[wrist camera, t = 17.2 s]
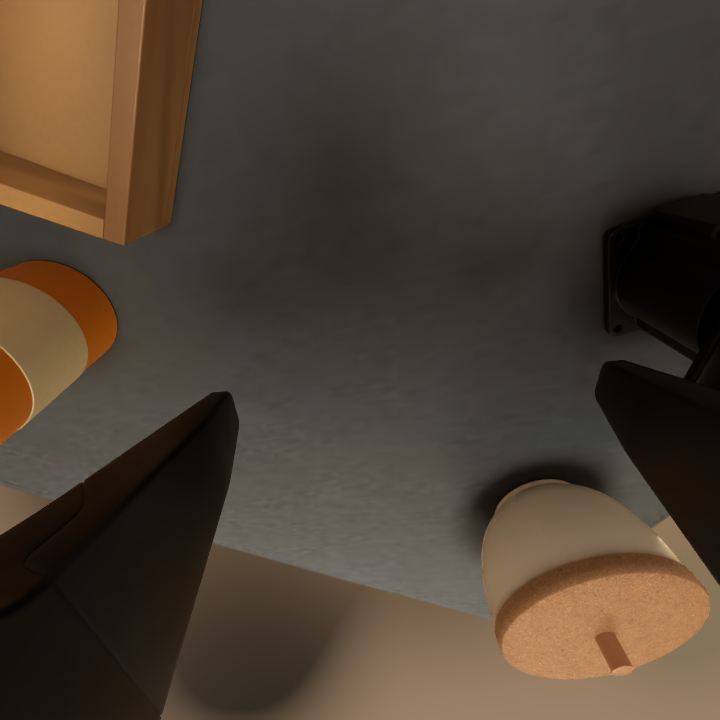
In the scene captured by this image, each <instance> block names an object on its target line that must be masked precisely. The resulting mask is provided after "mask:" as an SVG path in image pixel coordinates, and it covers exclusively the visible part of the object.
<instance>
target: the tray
mask: <svg viewBox="0 0 720 720" xmlns="http://www.w3.org/2000/svg"><path fill="white" fill-rule="evenodd" d="M202 1H203V0H0V204H2V205H5V206H7V207H10V208H13V209H16V210H19V211H22V212H25V213H28V214H31V215H34V216H37V217H40V218H43V219H46V220H49V221H52V222H55V223H58V224H61V225H64V226H67V227H70V228H72V229H75V230H78V231H81V232H84V233H87V234H90V235H93V236H96V237H99V238H104V239H105V240H108V241H111V242H114V243H117V244H120V245H123V246H125V245H127V244H129V243H131V242H133V241H135V240H137V239H139V238H141V237H144V236H146V235H148V234H150V233H152V232H154V231H156V230H158V229H160V228H162V227H165V226H167V225H169V224H170V223H171V217H172V210H173V203H174V196H175V189H176V182H177V175H178V168H179V161H180V154H181V148H182V141H183V134H184V127H185V120H186V113H187V106H188V99H189V92H190V85H191V78H192V71H193V64H194V57H195V50H196V43H197V36H198V29H199V22H200V15H201V8H202Z"/></svg>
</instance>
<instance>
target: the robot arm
mask: <svg viewBox="0 0 720 720" xmlns="http://www.w3.org/2000/svg"><path fill="white" fill-rule="evenodd" d="M617 234H618V238H617V240H616V241H614V242H613V238H614V237H615V235H617ZM604 283H605V329H606V331H607V332H608V333H609V334H611V335H612V336H618V335H622V334H625V333H628V332H632V331H635V330H639V329H642V330H644V331H646V332H647V333H649V334H650V335H652V336H654V337H655V338H657V339H658V340H660V341H662V342H663V343H665V344H666V345H668V346H670V347H671V348H673V349H674V350H676V351H678V352H679V353H681V354H682V355H684V356H686V357H687V358H689V359H690V360H692V361H693V362H692V364H691V366H690V368H689V370H688V372H687V373H686V375H685V377H684V379H682V378H679V377H676V376H673V375H670V374H666V373H663V372H660V371H657V370H654V369H651V368H647V367H644V366H641V365H638V364H635V363H632V362H628V361H625V360H618V361H608V362H606V363H604V364H603V366H602V368H601V371H600V375H599V378H598V382H597V385H596V389H595V397H596V400H597V402H598V404H599V406H600V407H601V409H602V411H603V413H604V414H605V416H606V418H607V420H608V422H609V423H610V425H611V427H612V429H613V431H614V432H615V434H616V436H617V438H618V440H619V441H620V443H621V445H622V447H623V448H624V450H625V452H626V453H627V455H628V456H629V458H630V459H631V461H632V462H633V463H634V465H635V466H636V468H637V469H638V471H639V472H640V473H641V475H642V476H643V478H644V479H645V480H646V482H647V483H648V485H649V486H650V488H651V489H652V490H653V492H654V493H655V495H656V496H657V497H658V499H659V500H660V502H661V503H662V505H663V506H664V507H665V509H666V510H667V512H668V513H669V514H670V516H671V517H672V518H673V520H674V521H675V523H676V524H677V526H678V527H679V529H680V530H681V531H682V533H683V534H684V536H685V537H686V539H687V540H688V541H689V543H690V544H691V546H692V547H693V548H694V550H695V551H696V553H697V554H698V556H699V557H700V558H701V560H702V561H703V563H704V564H705V565H706V567H707V568H708V570H709V571H710V572H711V574H712V575H713V577H714V578H715V580H716V581H717V583H718V584H719V585H720V193H717V194H714V195H709V194H700V195H697V196H694V197H691V198H688V199H685V200H682V201H679V202H676V203H673V204H670V205H667V206H664V207H661V208H658V209H655V210H653V211H652V212H651V213H650V214H649V215H648V217H645V218H642V219H639V220H636V221H633V222H630V223H627V224H624V225H621V226H618V227H614V228H612V229H610V230H609V231H608V232H607V233H606V235H605V236H604ZM616 325H618V327H617V328H615V329H614V327H615V326H616ZM238 430H239V419H238V415H237V412H236V408H235V405H234V401H233V398H232V395H231V394H230V393H229V392H228V391H224V392H213V393H211V394H209V395H208V396H206V397H205V398H203V399H202V400H200V401H199V402H198V403H196V404H195V405H193V406H192V407H190V408H189V409H187V410H186V411H184V412H183V413H181V414H180V415H179V416H177V417H176V418H174V419H173V420H171V421H170V422H168V423H167V424H165V425H164V426H163V427H161V428H160V429H158V430H157V431H155V432H154V433H152V434H151V435H149V436H148V437H147V438H145V439H144V440H142V441H141V442H139V443H138V444H136V445H135V446H133V447H132V448H131V449H129V450H128V451H126V452H125V453H123V454H122V455H120V456H119V457H117V458H116V459H115V460H113V461H112V462H110V463H109V464H107V465H106V466H104V467H103V468H101V469H100V470H99V471H97V472H96V473H94V474H93V475H91V476H90V477H88V478H87V479H85V481H84V483H83V482H82V483H79V484H78V485H77V486H75V487H74V488H72V489H71V490H69V491H68V492H66V493H65V494H64V495H62V496H61V497H59V498H58V499H56V500H55V501H53V502H52V503H50V504H49V505H47V506H46V507H44V508H43V509H41V510H40V511H38V512H37V513H35V514H33V515H32V516H30V517H29V518H27V519H26V520H24V521H22V522H21V523H19V524H17V525H16V526H14V527H13V528H11V529H9V530H8V531H6V532H5V533H4V534H2V535H0V720H161V717H160V715H161V714H162V712H163V709H164V706H165V702H166V699H167V695H168V692H169V688H170V685H171V682H172V678H173V675H174V671H175V668H176V665H177V661H178V658H179V655H180V651H181V648H182V644H183V641H184V638H185V634H186V631H187V627H188V624H189V620H190V617H191V614H192V610H193V607H194V603H195V600H196V597H197V593H198V590H199V586H200V583H201V579H202V576H203V572H204V569H205V566H206V562H207V559H208V556H209V552H210V549H211V546H212V542H213V539H214V535H215V532H216V528H217V525H218V522H219V518H220V515H221V511H222V508H223V505H224V501H225V498H226V494H227V491H228V487H229V483H230V478H231V473H232V467H233V461H234V455H235V449H236V442H237V436H238Z"/></svg>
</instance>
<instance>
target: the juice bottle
mask: <svg viewBox="0 0 720 720" xmlns="http://www.w3.org/2000/svg"><path fill="white" fill-rule="evenodd" d="M116 335H117V319H116V315H115V312H114V309H113V307H112V305H111V303H110V301H109V300H108V298H107V297H106V295H105V294H104V293H103V292H102V290H101V289H100V288H99V287H98V286H97V285H96V284H95V283H94V282H92V281H91V280H90V279H89V278H87V277H86V276H84V275H83V274H81V273H80V272H78V271H76V270H74V269H72V268H70V267H68V266H65V265H62V264H59V263H55V262H51V261H43V260H34V261H27V262H23V263H20V264H17V265H15V266H12V267H9V268H7V269H4V270H1V271H0V445H1V444H2V443H3V442H5V441H6V440H7V439H8V438H9V437H10V436H11V435H13V434H14V433H15V432H16V431H18V430H19V429H21V428H22V427H23V426H25V425H26V424H27V423H28V422H29V421H30V420H31V419H32V418H33V417H35V416H36V415H37V414H38V413H39V412H40V411H41V410H42V409H44V408H45V407H46V406H47V405H48V404H49V403H50V402H51V401H53V400H54V399H55V398H56V397H57V396H58V395H59V394H60V393H62V392H63V391H64V390H65V389H66V388H67V387H68V386H69V385H70V384H72V383H73V382H74V381H75V380H76V379H77V378H78V377H79V376H80V375H81V374H82V373H83V372H84V371H85V370H86V369H87V368H88V367H89V366H90V365H91V364H93V363H94V362H95V361H96V360H97V359H98V358H99V357H100V356H102V355H103V354H104V353H105V352H106V351H107V350H108V349H109V348H110V347H111V346H112V344H113V342H114V341H115V338H116Z"/></svg>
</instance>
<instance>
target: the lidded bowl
mask: <svg viewBox="0 0 720 720" xmlns="http://www.w3.org/2000/svg"><path fill="white" fill-rule="evenodd" d="M481 563H482V575H483V582H484V588H485V593H486V597H487V601H488V605H489V608H490V612H491V615H492V618H493V621H494V624H495V634H496V638H497V641H498V644H499V648H500V650H501V653H502V655H503V656H504V658H505V659H506V660H507V661H508V662H509V663H510V664H511V665H512V666H514V667H515V668H517V669H519V670H521V671H523V672H525V673H528V674H531V675H534V676H539V677H544V678H554V679H581V678H591V677H600V676H605V675H609V674H613V675H615V676H621V675H626V674H629V673H631V672H632V671H633V670H634V668H635V667H638V666H641V665H643V664H646V663H648V662H651V661H654V660H656V659H658V658H660V657H662V656H664V655H665V654H668V653H669V652H671V651H673V650H674V649H676V648H678V647H679V646H681V645H682V644H683V643H684V642H686V641H687V640H688V639H690V638H691V637H692V636H693V635H694V634H695V633H696V632H697V631H698V630H699V629H700V627H701V626H702V625H703V624H704V622H705V620H706V618H707V617H708V615H709V609H710V600H709V594H708V593H707V591H706V589H705V587H704V586H703V585H702V584H701V582H700V581H699V580H698V579H697V578H696V576H695V575H694V574H693V573H692V572H691V571H690V570H689V569H688V568H687V567H686V566H684V565H683V564H682V563H681V562H680V561H679V559H678V558H677V557H676V556H675V554H674V553H673V552H672V551H671V550H670V548H669V547H668V546H667V545H666V544H665V543H664V541H663V540H662V539H661V538H660V537H659V536H658V535H657V534H656V533H655V532H654V531H653V530H652V529H651V528H650V527H649V526H648V525H647V524H646V523H645V522H644V521H643V520H642V519H640V518H639V517H638V516H637V515H636V514H635V513H633V512H632V511H631V510H630V509H628V508H627V507H626V506H625V505H623V504H621V503H620V502H618V501H616V500H615V499H613V498H611V497H610V496H608V495H606V494H604V493H601V492H599V491H597V490H594V489H591V488H588V487H584V486H579V485H574V484H571V483H569V482H566V481H563V480H557V479H543V480H537V481H533V482H529V483H527V484H524V485H521V486H519V487H517V488H516V489H514V490H512V491H511V492H509V493H508V494H507V495H506V496H505V497H504V498H503V499H502V500H501V501H500V502H499V504H498V505H497V507H496V509H495V513H494V516H493V517H492V519H491V521H490V523H489V525H488V527H487V529H486V532H485V535H484V539H483V544H482V553H481Z"/></svg>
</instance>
